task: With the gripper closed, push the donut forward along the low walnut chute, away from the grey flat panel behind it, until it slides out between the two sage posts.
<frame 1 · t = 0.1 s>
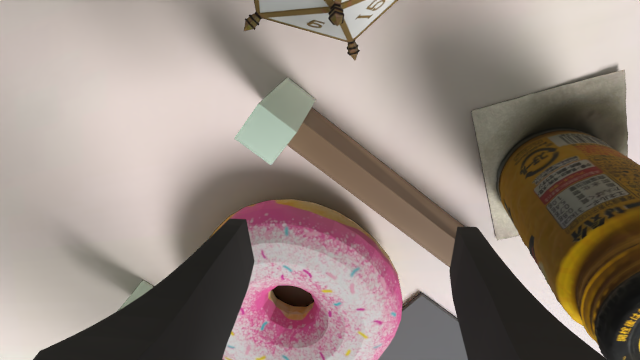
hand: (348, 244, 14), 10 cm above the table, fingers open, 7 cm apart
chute: (305, 278, 28), on the table
donut: (301, 271, 28), on the table
condiment: (550, 161, 23), on the table
grey flat panel: (411, 352, 30), on the table
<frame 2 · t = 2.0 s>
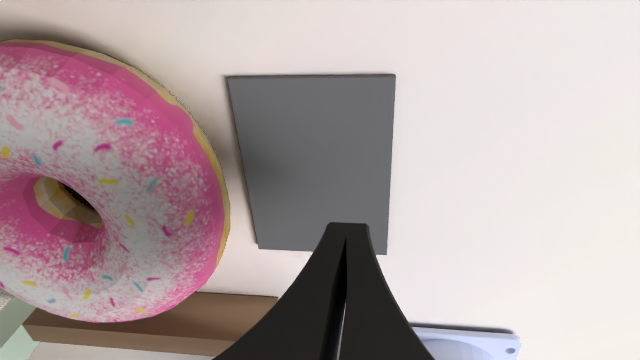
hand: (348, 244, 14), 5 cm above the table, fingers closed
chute: (116, 169, 19), on the table
donut: (114, 165, 20), on the table
grey flat panel: (316, 173, 18), on the table
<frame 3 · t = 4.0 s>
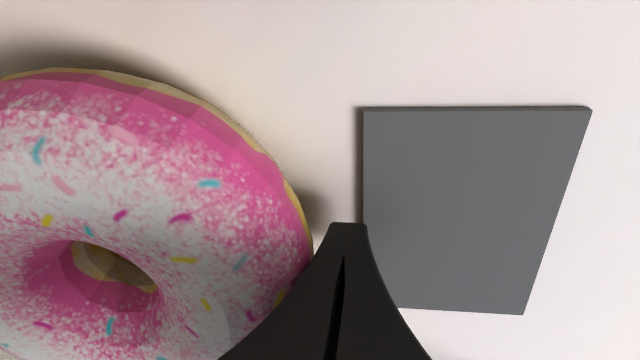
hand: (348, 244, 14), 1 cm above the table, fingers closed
donut: (161, 210, 16), on the table
grey flat panel: (453, 222, 15), on the table
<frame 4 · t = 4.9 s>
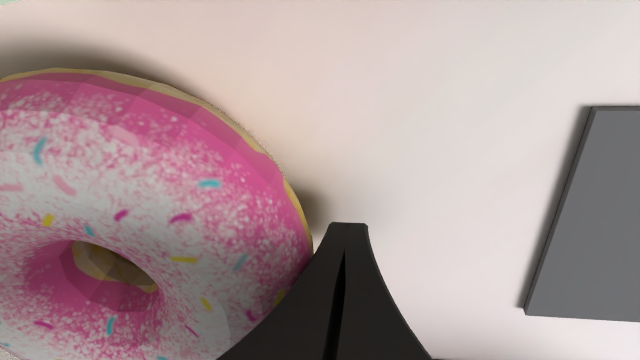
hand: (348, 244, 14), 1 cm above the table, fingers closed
donut: (162, 210, 16), on the table, touching gripper
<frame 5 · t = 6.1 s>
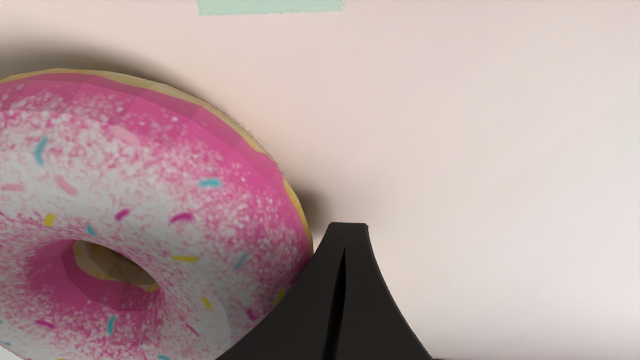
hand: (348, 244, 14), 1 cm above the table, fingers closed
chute: (558, 226, 14), on the table
donut: (162, 209, 16), on the table, touching gripper
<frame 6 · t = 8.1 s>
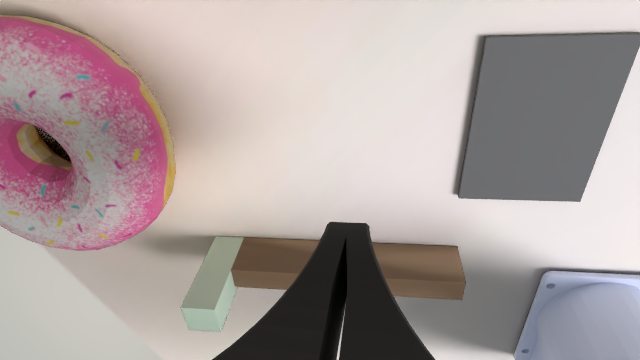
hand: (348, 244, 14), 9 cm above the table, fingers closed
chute: (344, 124, 22), on the table
donut: (84, 123, 24), on the table
grey flat panel: (536, 125, 20), on the table
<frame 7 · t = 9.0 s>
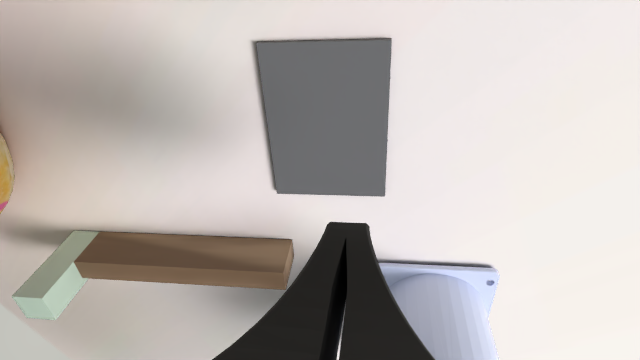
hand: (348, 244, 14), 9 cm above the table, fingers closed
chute: (158, 123, 23), on the table
grey flat panel: (327, 124, 22), on the table
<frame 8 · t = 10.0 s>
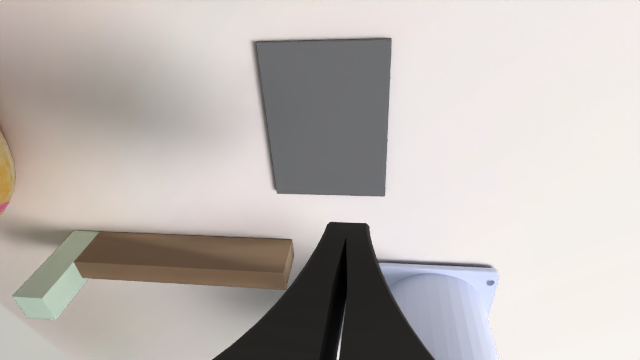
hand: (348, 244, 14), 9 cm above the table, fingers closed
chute: (158, 123, 23), on the table
grey flat panel: (327, 124, 22), on the table
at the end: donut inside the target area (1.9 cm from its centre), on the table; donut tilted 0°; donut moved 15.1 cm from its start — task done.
